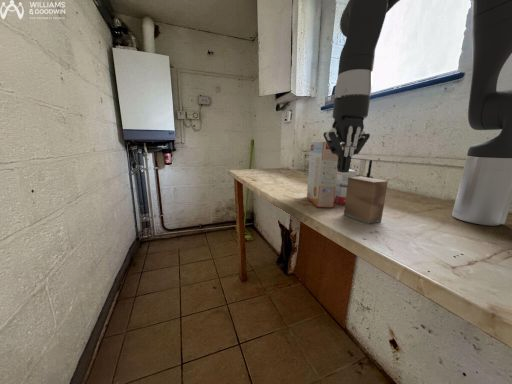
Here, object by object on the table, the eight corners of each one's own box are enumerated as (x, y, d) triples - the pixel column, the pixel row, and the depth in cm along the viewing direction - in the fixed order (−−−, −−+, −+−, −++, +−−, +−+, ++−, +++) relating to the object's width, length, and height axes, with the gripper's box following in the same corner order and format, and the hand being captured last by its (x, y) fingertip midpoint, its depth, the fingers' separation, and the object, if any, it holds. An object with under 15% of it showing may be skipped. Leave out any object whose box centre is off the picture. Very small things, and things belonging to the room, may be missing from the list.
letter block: (356, 212, 62) (361, 176, 59) (381, 221, 54) (387, 181, 52) (343, 214, 60) (348, 177, 57) (368, 224, 52) (374, 182, 50)
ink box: (353, 205, 69) (357, 170, 66) (338, 204, 69) (342, 170, 66) (343, 198, 77) (346, 167, 74) (330, 198, 77) (333, 167, 75)
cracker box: (335, 208, 65) (342, 141, 60) (316, 208, 65) (321, 141, 60) (321, 197, 79) (326, 141, 74) (306, 196, 79) (310, 141, 74)
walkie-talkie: (359, 200, 75) (365, 159, 71) (369, 201, 73) (376, 159, 70) (359, 203, 70) (365, 160, 67) (370, 205, 69) (377, 160, 65)
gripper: (358, 102, 52) (350, 169, 56) (317, 96, 47) (311, 171, 51) (387, 96, 46) (375, 173, 50) (343, 89, 40) (333, 175, 44)
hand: (342, 172), depth 50 cm, fingers closed
